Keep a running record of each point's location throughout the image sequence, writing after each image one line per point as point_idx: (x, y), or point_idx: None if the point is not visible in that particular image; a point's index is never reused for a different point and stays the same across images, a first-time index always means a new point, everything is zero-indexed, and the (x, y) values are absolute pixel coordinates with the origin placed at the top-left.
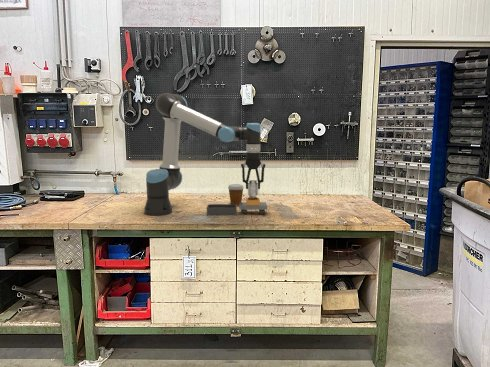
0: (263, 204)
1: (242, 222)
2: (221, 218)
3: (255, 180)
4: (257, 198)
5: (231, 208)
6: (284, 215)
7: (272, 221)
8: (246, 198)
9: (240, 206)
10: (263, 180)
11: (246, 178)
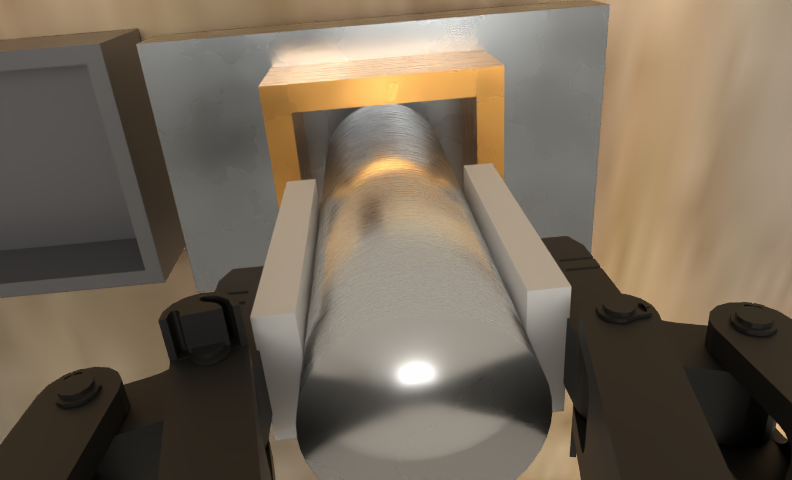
0: (548, 172)
1: (296, 474)
2: (58, 376)
3: (513, 391)
4: (475, 113)
5: (97, 284)
6: (745, 209)
7: (567, 425)
8: (268, 137)
9: (214, 287)
10: (772, 455)
11: (166, 451)
